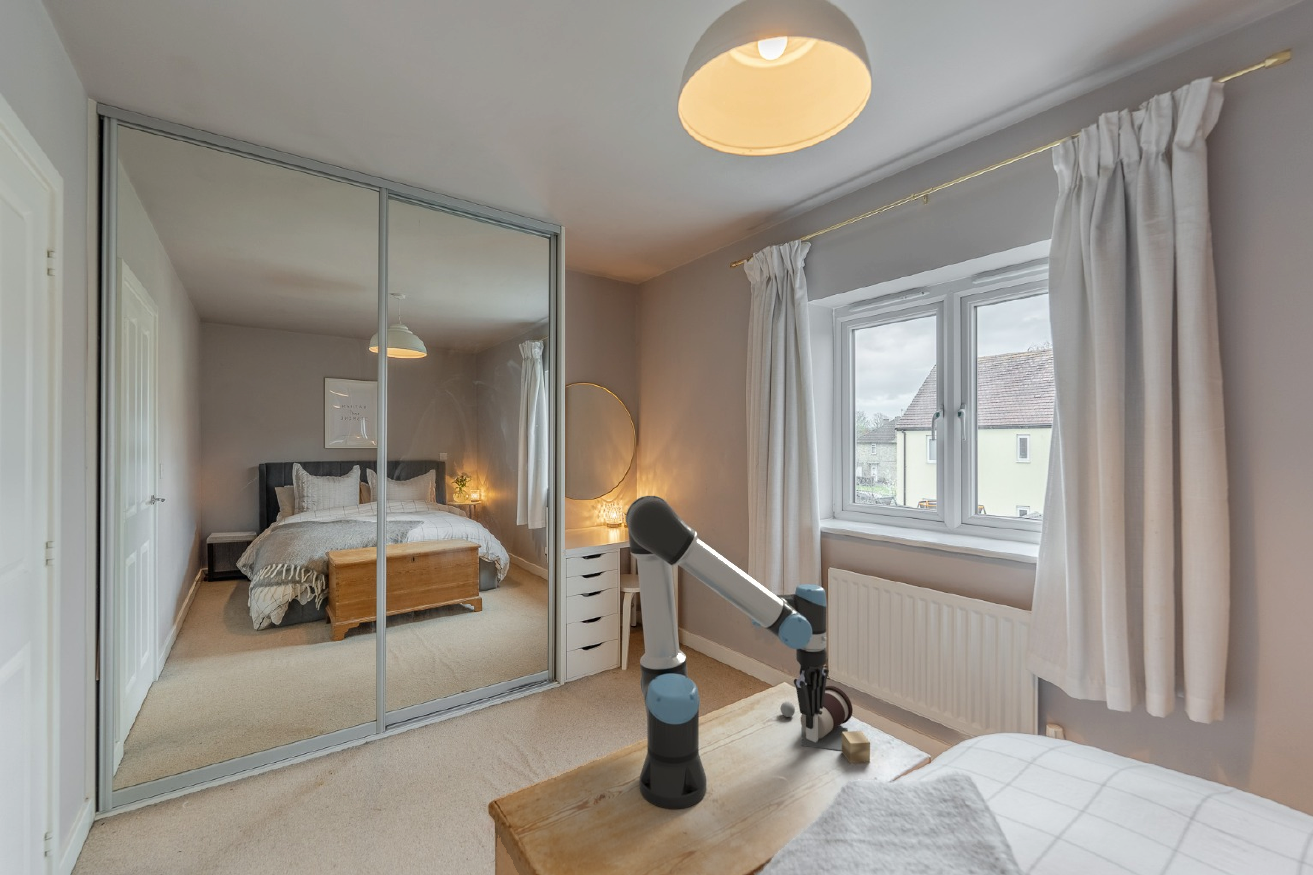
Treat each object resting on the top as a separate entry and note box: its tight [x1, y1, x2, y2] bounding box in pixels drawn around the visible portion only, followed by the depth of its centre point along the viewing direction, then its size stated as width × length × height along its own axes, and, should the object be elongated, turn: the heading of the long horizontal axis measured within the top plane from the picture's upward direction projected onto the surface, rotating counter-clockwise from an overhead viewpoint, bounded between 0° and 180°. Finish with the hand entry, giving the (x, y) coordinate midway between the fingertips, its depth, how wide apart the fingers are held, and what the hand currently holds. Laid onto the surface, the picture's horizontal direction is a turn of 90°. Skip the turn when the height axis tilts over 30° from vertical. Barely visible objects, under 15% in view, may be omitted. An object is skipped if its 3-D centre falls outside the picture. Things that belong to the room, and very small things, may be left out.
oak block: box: [841, 730, 871, 764], centre depth 141 cm, size 5×5×5 cm
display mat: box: [801, 726, 849, 752], centre depth 151 cm, size 12×12×1 cm
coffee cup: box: [800, 685, 853, 739], centre depth 154 cm, size 10×10×15 cm
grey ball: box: [780, 701, 796, 718], centre depth 162 cm, size 4×4×4 cm
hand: (812, 739), depth 145 cm, fingers closed
